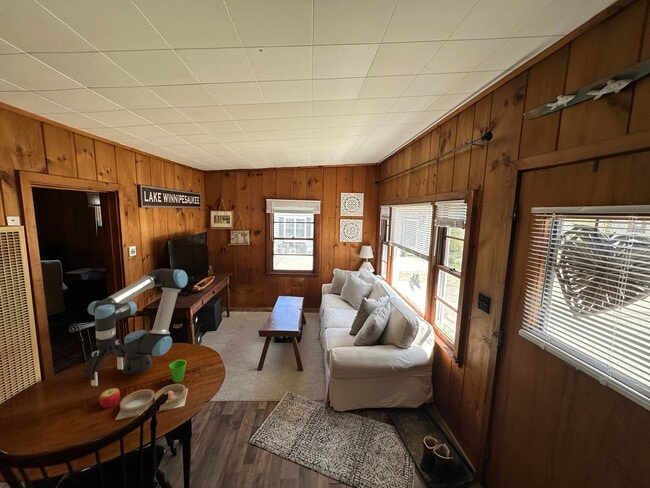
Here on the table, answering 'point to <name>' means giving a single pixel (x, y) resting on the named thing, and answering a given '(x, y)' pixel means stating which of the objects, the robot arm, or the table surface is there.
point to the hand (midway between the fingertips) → (108, 376)
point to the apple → (109, 397)
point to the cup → (177, 370)
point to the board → (144, 400)
